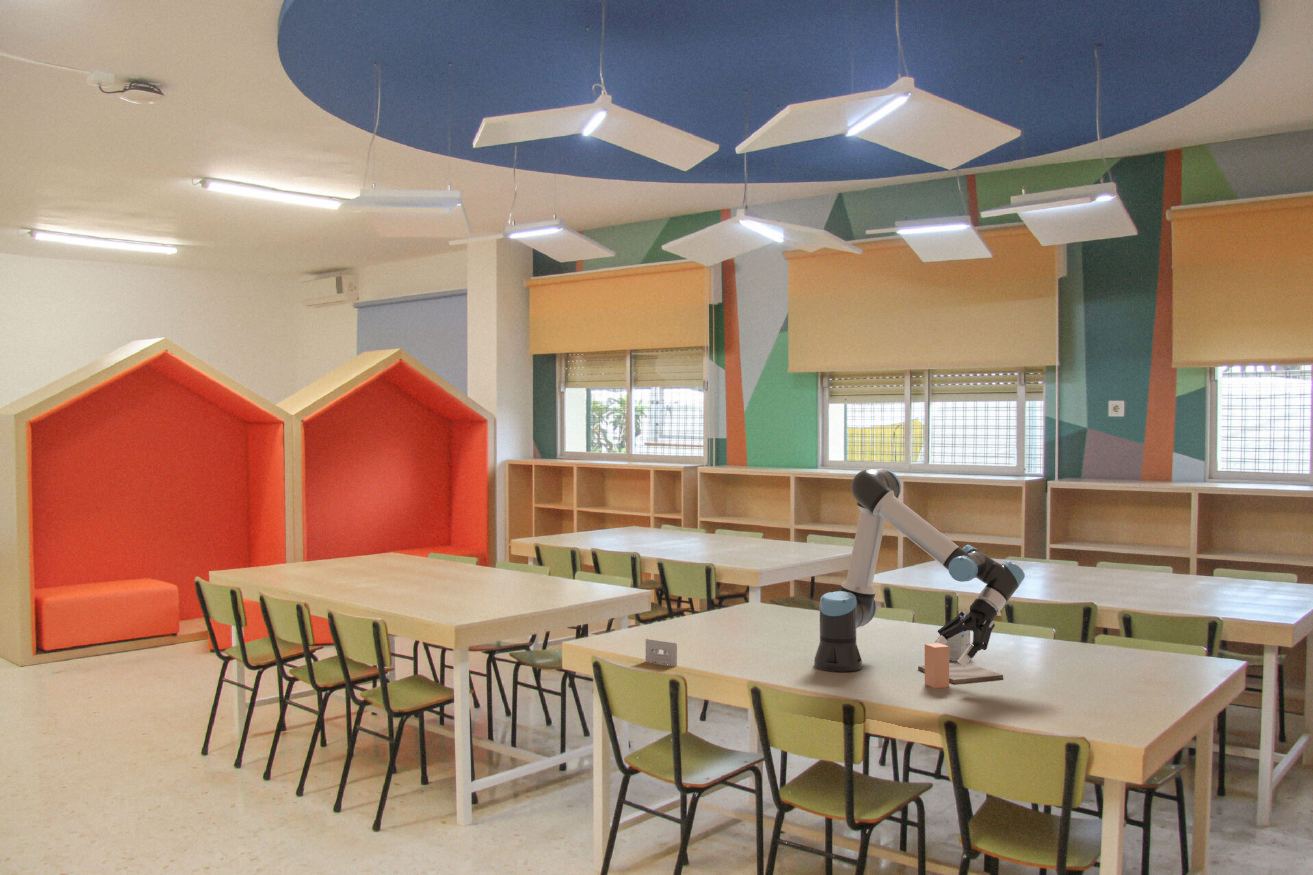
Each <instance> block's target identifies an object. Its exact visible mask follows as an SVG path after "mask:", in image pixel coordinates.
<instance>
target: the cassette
mask: <svg viewBox="0 0 1313 875" xmlns="http://www.w3.org/2000/svg"><path fill="white" fill-rule="evenodd" d="M660 650H662V651H663V652H659V651H660ZM645 662H646V663H650V664H654V665H661V666H667V667H673V666H674V668H675V666H676V667H678V643H677V642H672V641H667V640H659V639H654V638H653V639H651V638H646V639H645ZM667 664H668V665H667Z"/></svg>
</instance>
